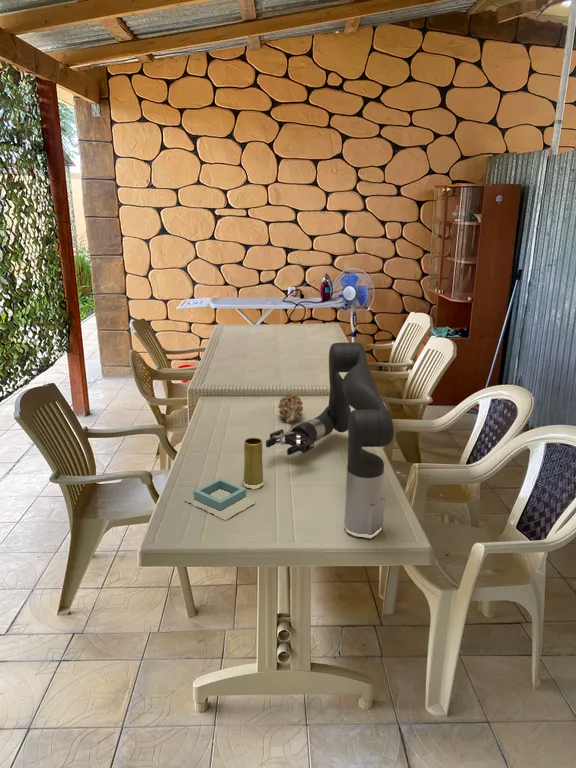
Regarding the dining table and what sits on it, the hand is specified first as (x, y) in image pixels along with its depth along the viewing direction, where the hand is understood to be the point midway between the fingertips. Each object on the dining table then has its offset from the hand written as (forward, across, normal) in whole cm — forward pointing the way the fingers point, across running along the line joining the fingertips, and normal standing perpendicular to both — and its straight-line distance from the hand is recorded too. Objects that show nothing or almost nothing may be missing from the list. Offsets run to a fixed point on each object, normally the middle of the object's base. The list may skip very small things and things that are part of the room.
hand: (277, 448), depth 189 cm
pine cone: (-35, -22, +8) cm, 42 cm away
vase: (+11, 0, +8) cm, 14 cm away
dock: (+25, 0, +8) cm, 26 cm away
